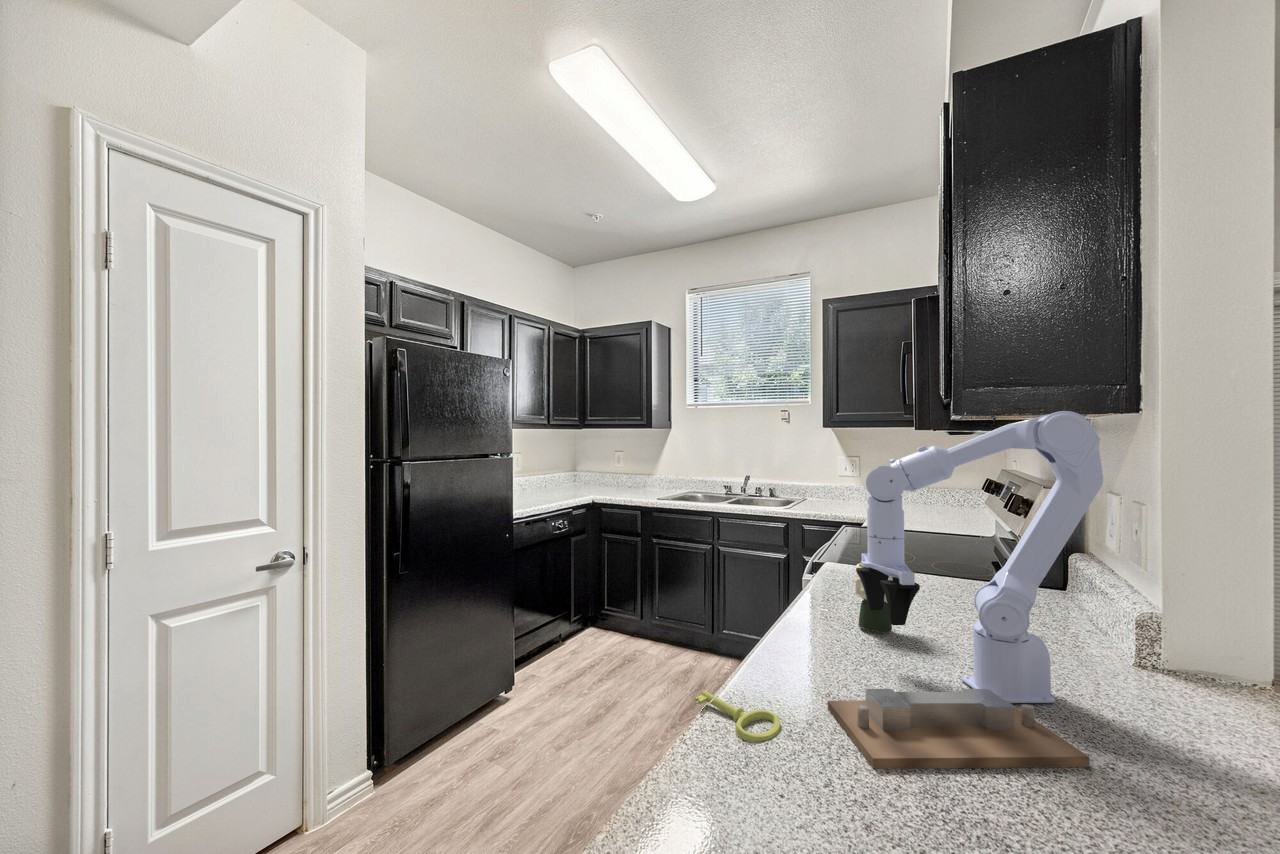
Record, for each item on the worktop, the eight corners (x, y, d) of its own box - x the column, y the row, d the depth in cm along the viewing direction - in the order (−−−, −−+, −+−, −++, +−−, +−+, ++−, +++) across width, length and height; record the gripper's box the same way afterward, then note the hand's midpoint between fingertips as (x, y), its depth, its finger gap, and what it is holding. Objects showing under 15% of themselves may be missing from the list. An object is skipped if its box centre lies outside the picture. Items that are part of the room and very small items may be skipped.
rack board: (1005, 708, 77) (1004, 682, 77) (1089, 766, 63) (1088, 736, 63) (828, 709, 76) (827, 683, 76) (873, 768, 62) (872, 737, 62)
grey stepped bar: (988, 710, 74) (987, 688, 74) (1014, 730, 69) (1013, 706, 69) (865, 710, 74) (865, 688, 74) (882, 730, 69) (882, 706, 69)
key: (701, 702, 79) (701, 687, 79) (784, 724, 73) (784, 708, 73) (681, 725, 72) (681, 709, 73) (771, 751, 67) (771, 734, 67)
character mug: (878, 621, 115) (877, 560, 115) (908, 631, 108) (907, 567, 109) (842, 629, 110) (841, 565, 110) (871, 640, 103) (871, 573, 104)
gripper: (844, 529, 98) (845, 603, 97) (883, 544, 83) (883, 632, 83) (882, 529, 98) (883, 603, 97) (927, 544, 83) (928, 632, 83)
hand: (886, 616), depth 90 cm, fingers open, 7 cm apart
